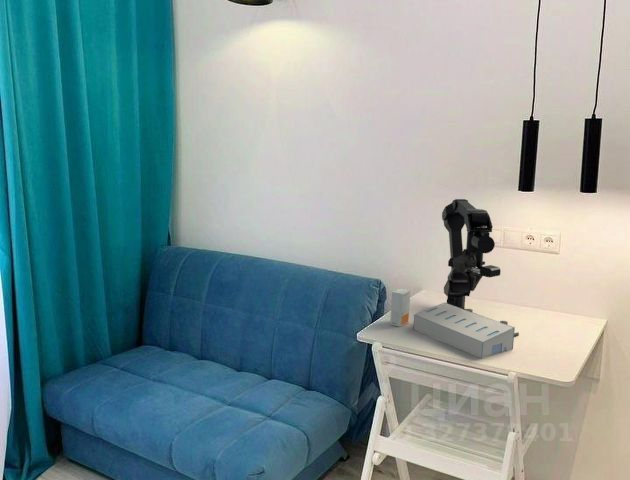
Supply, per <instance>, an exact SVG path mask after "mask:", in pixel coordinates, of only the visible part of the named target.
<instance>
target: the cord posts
mask: <svg viewBox="0 0 630 480" xmlns="http://www.w3.org/2000/svg"><path fill="white" fill-rule="evenodd" d="M465 309H466V310H467V311H470V312H473V309H472V308H465ZM473 313H474V312H473ZM499 322H501V323H504V324H506V325H509V322H508V321H506V320H499ZM519 335H520V332H518V331H517V332H514V337H517V336H519Z"/></svg>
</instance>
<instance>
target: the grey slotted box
mask: <svg viewBox="0 0 630 480" xmlns="http://www.w3.org/2000/svg"><path fill="white" fill-rule="evenodd" d="M464 309H465V308H464ZM464 309H462V308H459V307H456V306H453V305H450V304H447V302H442V303H440V304H437V305H434V306H432V307H430V308H427V309H425V310H422V311H420V312H417V313H415V314H414V315H413V330H415V331H417V332H419V333H422V334H423V335H426V336H429V337H431V338H433V339H435V340H438V341H441V342H442V343H445V344H448V345H449V346H451V347H454V348H457V349H459V350H461V351H463V352H466V353H468V354H469V355H470V354H471V355H473V356H475V357H477V358H479V359H486V358H488V357H491V356H494V355H497V354H501V353H504V352H508V351H511V350H514V343H515V341H514V340H515V336H514V333H515V327H514V326H512V325H510V324H508V325H506V324H504V323H501V322H500V321H497V320H496V319H492V318H489V317H487V316H484V315H480V314H478V313H476V312H470V311H467V310H464Z"/></svg>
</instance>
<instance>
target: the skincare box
mask: <svg viewBox="0 0 630 480" xmlns="http://www.w3.org/2000/svg"><path fill="white" fill-rule="evenodd" d="M410 302H411V289H410V290H409V289H406V288H401V287H400V288H398V289H395V290H394V291H391V305H390V325H391V326H395V327H399V328H400V327H403V326H405V325H406V324H409V319H410V318H409V317H410Z"/></svg>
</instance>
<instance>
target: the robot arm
mask: <svg viewBox="0 0 630 480" xmlns="http://www.w3.org/2000/svg"><path fill="white" fill-rule="evenodd" d="M441 219H442V221H443V225H444V226H443V227H445V229H446V231H448V239H449V240H448V241H449V256H450V258H449V260H448V262H447V266H448V267H451V268H450V272H449V274H448V275H447V281H446V282H445V284H444V286H443V293H444V294H445V296H446V297H447V298H446V303H447V304H450V305H453V306H456V307H459V308H462V309H464V310H466V309H467V308H466V307H465V306H466V305H465V304H466V297H470V295H471V292H473V291H475V290H476V287H477V286H478V284H479V282H480V281H481V280H482V278H483V277H485V278H494V277H499V276H501V268H500V267H499V266H496V265H492V264H490V265H489V264H488V265H486V261H484V254H490V253H491V252H492V251H493V250H494V248H495V245H496V243H495V240H494V239H493V237H491V236H490V234H491V233H492V232H493V224H492V219H491V217H490V214H489V213H488V211H487V210H486V209H480V208H476V207H475V206H473V205H472V204H471V203H470V202H469V200H468V199H466V198H455V199H454V200H452V202H451V203H450V204H447V205H446V206H445V207H444V208H443V210H442V213H441ZM464 226H465V227H466V233H467V234H466V246H465V247H466V248H464V246H463V238H462V237H463V234H462V230H463V228H464ZM463 248H464V249H463Z"/></svg>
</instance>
